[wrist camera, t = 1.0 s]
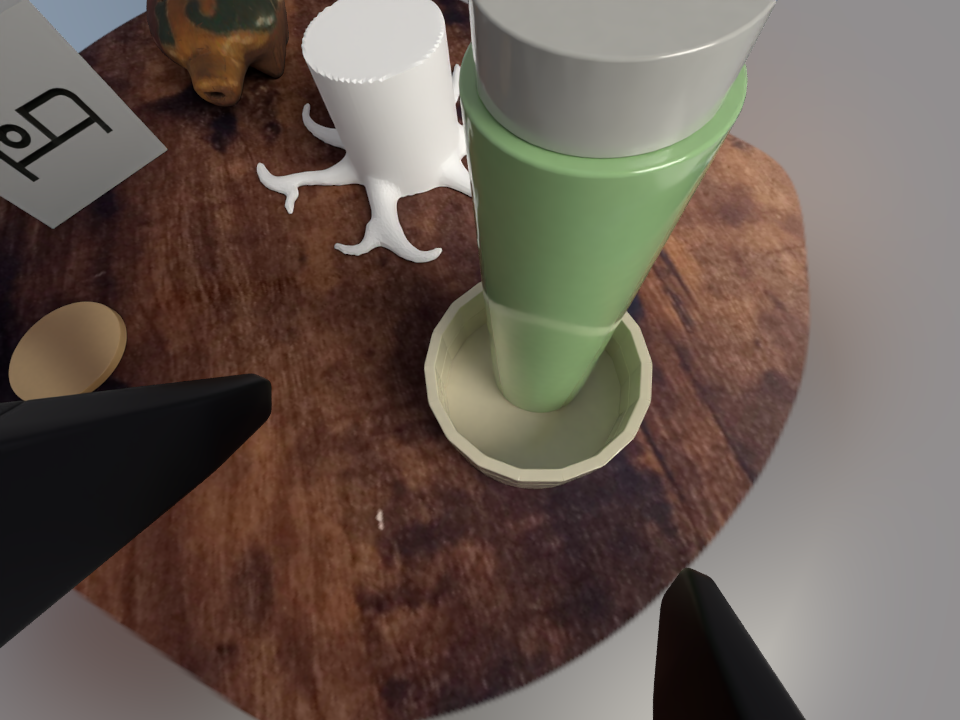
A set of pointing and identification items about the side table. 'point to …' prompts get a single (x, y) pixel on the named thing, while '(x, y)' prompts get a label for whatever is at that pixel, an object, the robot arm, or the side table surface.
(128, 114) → the icon cube
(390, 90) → the tree stump
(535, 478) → the bowl
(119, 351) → the coaster
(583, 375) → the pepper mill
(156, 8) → the ocarina
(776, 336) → the side table surface
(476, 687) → the side table surface
